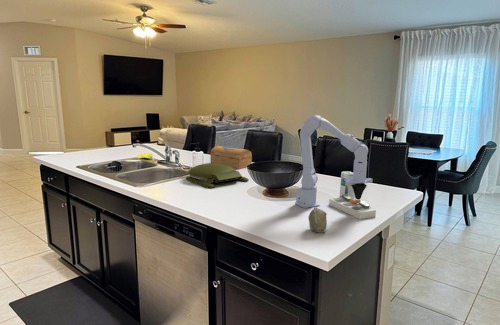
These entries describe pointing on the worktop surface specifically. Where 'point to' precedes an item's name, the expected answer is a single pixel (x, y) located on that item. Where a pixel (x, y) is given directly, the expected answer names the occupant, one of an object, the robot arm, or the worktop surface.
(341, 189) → the syrup box
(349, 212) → the white tray
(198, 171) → the folded olive dish cloth
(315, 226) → the mottled olive rock
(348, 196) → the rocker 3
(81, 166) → the worktop surface
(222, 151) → the wooden box
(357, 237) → the worktop surface
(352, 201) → the rocker
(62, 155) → the worktop surface
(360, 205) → the rocker
